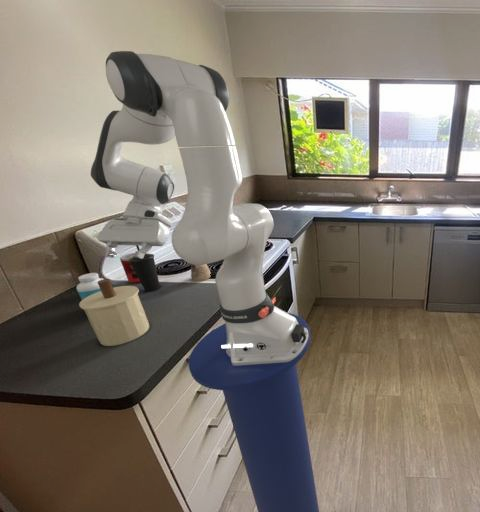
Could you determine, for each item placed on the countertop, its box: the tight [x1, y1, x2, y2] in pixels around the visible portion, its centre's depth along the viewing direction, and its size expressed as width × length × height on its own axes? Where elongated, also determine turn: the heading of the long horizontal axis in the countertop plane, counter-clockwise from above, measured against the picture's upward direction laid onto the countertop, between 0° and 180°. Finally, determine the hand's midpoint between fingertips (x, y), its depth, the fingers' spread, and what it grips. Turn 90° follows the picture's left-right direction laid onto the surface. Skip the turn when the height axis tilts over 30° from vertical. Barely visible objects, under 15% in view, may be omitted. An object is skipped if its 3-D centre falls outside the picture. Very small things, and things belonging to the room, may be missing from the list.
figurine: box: [188, 263, 212, 283], centre depth 121 cm, size 7×7×12 cm
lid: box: [78, 278, 140, 311], centre depth 82 cm, size 13×13×6 cm
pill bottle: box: [76, 272, 104, 301], centre depth 97 cm, size 8×7×14 cm
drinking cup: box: [129, 246, 161, 293], centre depth 110 cm, size 8×8×20 cm
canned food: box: [119, 252, 141, 284], centre depth 120 cm, size 8×8×11 cm
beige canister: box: [84, 293, 150, 347], centre depth 85 cm, size 12×12×12 cm
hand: (123, 257), depth 86 cm, fingers open, 8 cm apart
